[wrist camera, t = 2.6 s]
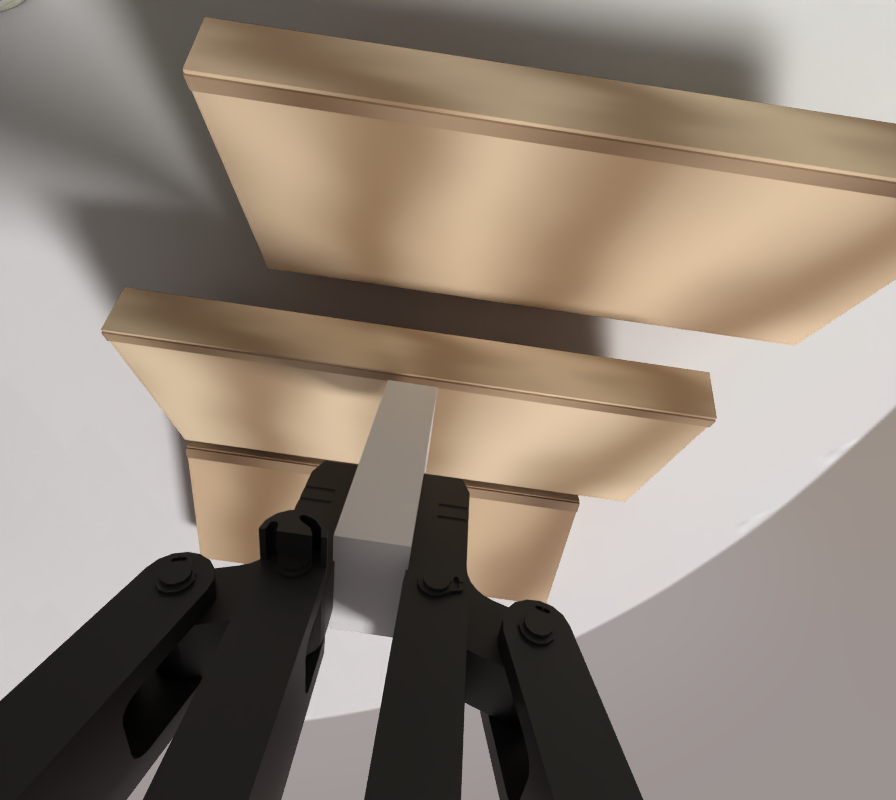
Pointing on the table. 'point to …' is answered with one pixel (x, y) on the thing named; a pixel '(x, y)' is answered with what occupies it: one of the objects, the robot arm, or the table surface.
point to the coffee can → (9, 4)
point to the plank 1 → (547, 184)
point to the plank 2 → (418, 362)
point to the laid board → (284, 476)
